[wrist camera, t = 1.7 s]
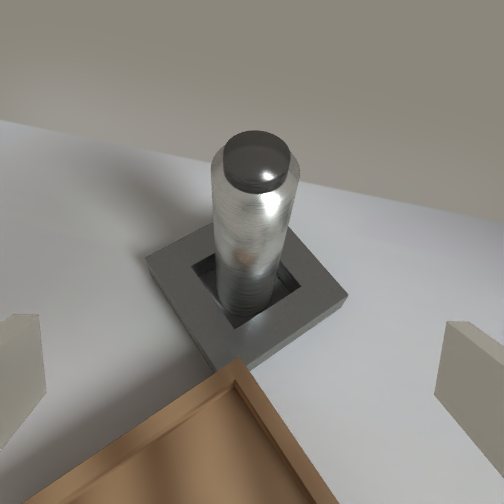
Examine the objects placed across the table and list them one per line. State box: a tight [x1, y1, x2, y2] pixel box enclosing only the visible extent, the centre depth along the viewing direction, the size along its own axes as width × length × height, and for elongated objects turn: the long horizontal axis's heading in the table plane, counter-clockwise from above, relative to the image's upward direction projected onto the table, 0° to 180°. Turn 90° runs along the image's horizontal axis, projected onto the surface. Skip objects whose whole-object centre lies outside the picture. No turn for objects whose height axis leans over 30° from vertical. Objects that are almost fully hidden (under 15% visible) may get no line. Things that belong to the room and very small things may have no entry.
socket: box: [145, 222, 348, 373], centre depth 30 cm, size 11×11×2 cm
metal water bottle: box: [211, 131, 300, 316], centre depth 25 cm, size 4×4×15 cm
